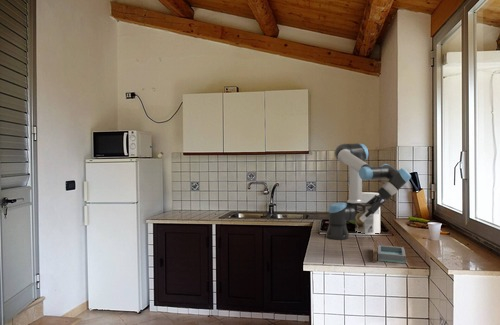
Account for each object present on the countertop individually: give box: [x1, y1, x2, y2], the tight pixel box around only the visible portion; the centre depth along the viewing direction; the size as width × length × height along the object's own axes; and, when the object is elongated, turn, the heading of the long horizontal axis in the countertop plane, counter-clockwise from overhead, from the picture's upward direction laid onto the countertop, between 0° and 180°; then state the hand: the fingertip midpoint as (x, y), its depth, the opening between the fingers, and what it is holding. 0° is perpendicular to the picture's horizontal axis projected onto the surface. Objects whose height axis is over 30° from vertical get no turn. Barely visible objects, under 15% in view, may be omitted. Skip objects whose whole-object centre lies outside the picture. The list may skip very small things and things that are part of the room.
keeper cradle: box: [377, 244, 407, 264], centre depth 198 cm, size 14×17×4 cm
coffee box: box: [354, 203, 374, 235], centre depth 202 cm, size 9×6×16 cm
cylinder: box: [356, 191, 381, 235], centre depth 257 cm, size 17×17×28 cm
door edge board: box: [372, 239, 379, 263], centre depth 201 cm, size 2×24×6 cm, turn 159°
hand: (358, 218), depth 202 cm, fingers closed on coffee box, 10 cm apart
